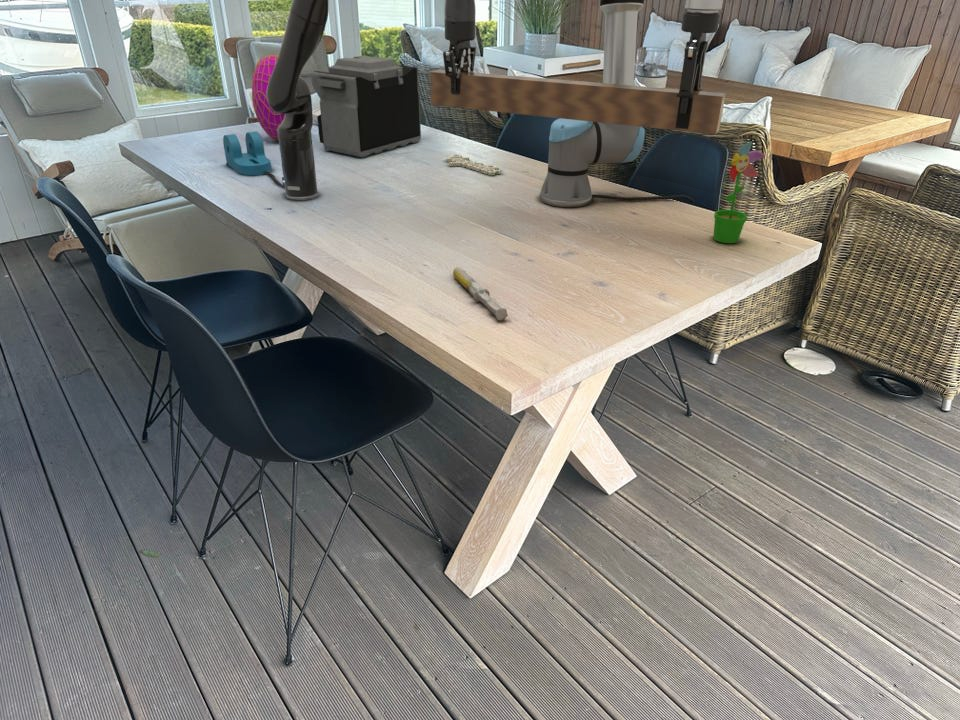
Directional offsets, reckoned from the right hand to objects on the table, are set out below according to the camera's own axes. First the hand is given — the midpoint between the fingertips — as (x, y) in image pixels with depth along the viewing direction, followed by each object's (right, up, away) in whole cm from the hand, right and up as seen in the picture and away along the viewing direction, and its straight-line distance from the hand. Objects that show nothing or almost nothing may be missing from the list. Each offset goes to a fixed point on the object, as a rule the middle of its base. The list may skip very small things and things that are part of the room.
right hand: (684, 125), depth 156 cm
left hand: (-52, +15, +19) cm, 57 cm away
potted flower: (+17, -23, +20) cm, 35 cm away
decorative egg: (-122, +31, +109) cm, 166 cm away
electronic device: (-87, +27, +102) cm, 137 cm away
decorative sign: (-50, +12, +78) cm, 93 cm away
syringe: (-47, -40, -11) cm, 63 cm away
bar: (-26, +6, +11) cm, 28 cm away
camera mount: (-123, +11, +73) cm, 143 cm away
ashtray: (-107, +49, +139) cm, 182 cm away
